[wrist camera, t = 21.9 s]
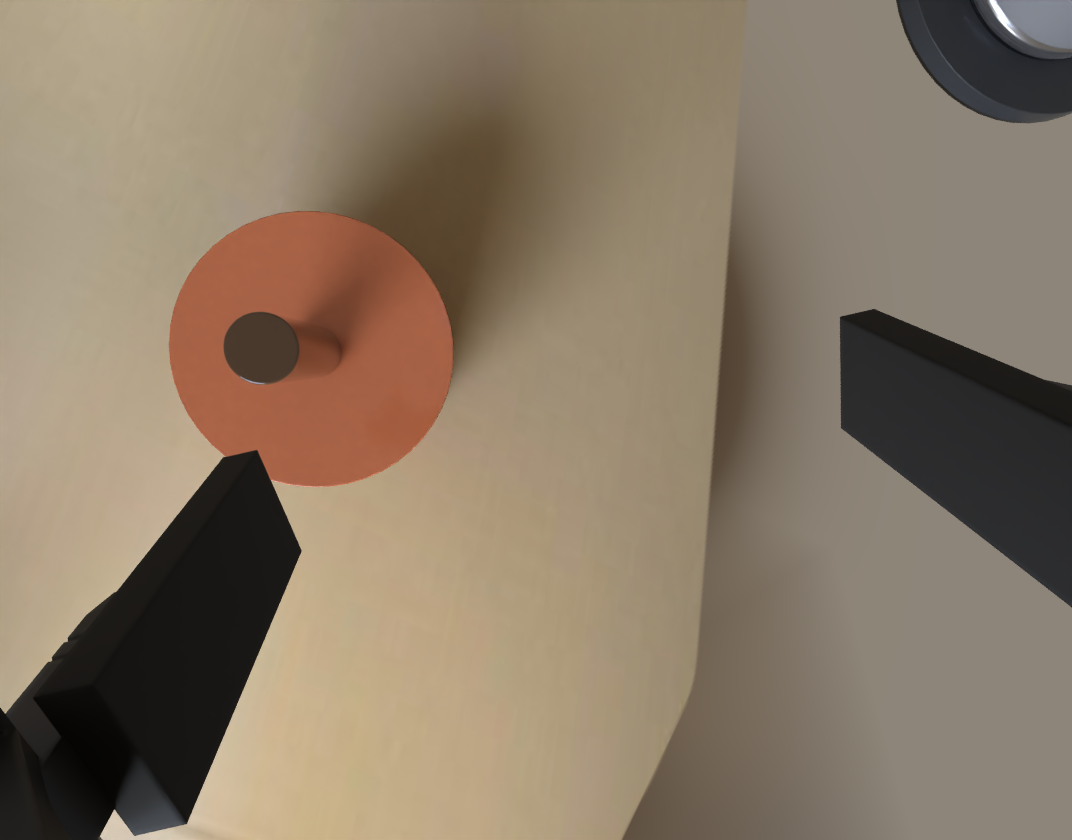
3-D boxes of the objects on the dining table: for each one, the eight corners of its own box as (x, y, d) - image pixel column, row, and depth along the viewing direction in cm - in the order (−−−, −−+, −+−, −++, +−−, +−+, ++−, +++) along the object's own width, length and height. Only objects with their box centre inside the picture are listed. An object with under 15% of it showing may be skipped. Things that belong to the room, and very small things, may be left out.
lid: (496, 290, 34) (514, 259, 23) (388, 522, 34) (361, 591, 24) (246, 167, 31) (148, 76, 21) (134, 417, 32) (-13, 443, 22)
